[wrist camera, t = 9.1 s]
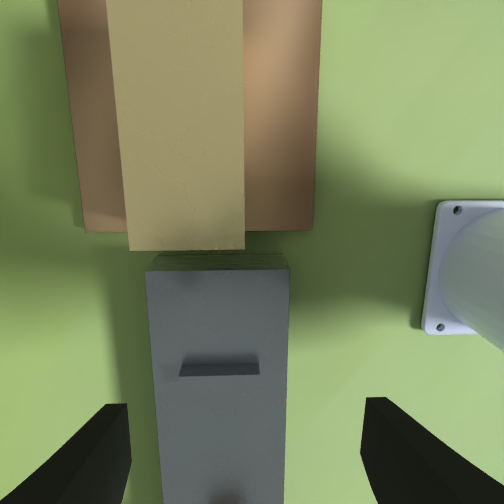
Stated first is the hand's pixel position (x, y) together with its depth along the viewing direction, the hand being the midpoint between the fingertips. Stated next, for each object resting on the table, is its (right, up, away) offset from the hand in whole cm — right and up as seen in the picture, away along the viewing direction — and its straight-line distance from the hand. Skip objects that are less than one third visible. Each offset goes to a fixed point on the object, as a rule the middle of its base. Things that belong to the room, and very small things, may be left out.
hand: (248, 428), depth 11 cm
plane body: (-2, -5, +12) cm, 13 cm away
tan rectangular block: (-3, +11, +7) cm, 13 cm away
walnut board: (-3, +12, +8) cm, 14 cm away
